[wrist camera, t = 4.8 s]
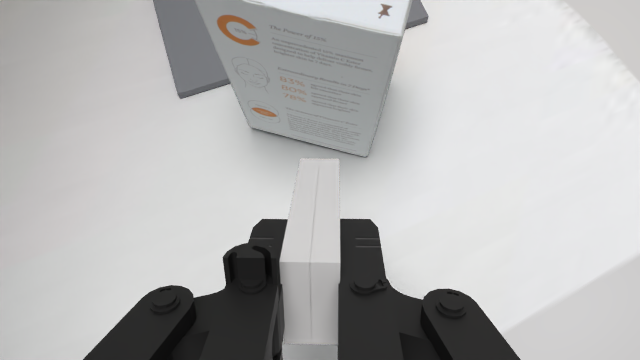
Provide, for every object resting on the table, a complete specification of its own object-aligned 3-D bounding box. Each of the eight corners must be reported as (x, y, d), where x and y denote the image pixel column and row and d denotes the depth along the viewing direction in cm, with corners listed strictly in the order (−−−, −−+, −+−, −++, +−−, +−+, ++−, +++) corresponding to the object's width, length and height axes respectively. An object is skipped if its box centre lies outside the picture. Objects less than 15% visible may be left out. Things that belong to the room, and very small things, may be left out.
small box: (391, 73, 29) (443, -103, 16) (367, 160, 27) (405, 39, 15) (275, 44, 29) (239, -145, 17) (246, 127, 28) (181, -14, 15)
